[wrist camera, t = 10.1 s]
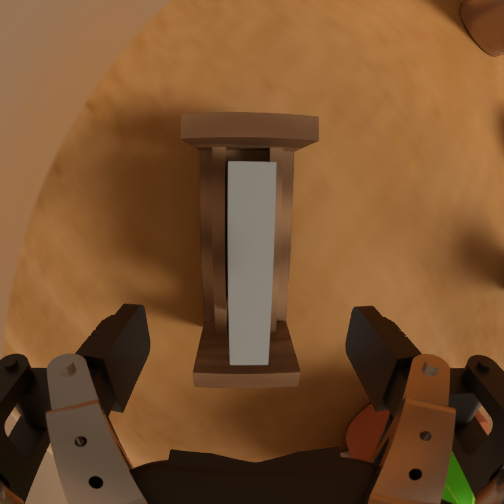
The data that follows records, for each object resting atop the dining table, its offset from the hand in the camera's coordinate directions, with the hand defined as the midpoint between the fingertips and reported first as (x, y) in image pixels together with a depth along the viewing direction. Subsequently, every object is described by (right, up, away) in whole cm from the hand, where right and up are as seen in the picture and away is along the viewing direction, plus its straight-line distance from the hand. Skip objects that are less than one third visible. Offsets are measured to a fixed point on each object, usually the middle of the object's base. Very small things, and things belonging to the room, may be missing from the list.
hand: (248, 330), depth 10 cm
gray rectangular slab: (0, +4, +14) cm, 15 cm away
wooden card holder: (0, +4, +16) cm, 16 cm away
